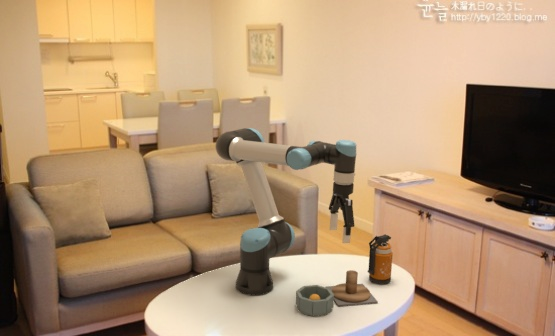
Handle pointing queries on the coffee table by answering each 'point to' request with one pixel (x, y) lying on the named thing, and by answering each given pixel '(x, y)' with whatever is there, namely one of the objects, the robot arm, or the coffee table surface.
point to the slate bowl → (314, 306)
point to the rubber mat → (342, 303)
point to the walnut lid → (351, 289)
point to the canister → (380, 260)
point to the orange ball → (314, 297)
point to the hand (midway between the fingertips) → (339, 236)
